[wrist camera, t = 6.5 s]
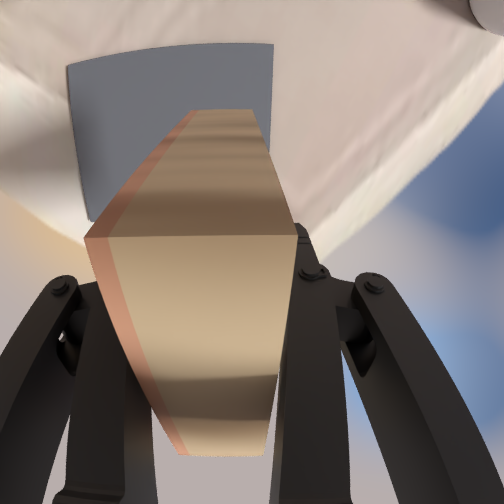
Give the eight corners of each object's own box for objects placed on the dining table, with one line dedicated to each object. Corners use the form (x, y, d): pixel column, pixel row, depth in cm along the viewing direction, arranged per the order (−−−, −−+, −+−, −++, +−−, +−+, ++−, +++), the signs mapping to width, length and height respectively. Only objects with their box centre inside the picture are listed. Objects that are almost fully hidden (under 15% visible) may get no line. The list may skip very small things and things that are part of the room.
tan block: (191, 110, 14) (83, 237, 4) (252, 109, 14) (298, 235, 4) (199, 259, 19) (178, 454, 9) (248, 259, 19) (263, 455, 9)
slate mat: (70, 64, 22) (67, 65, 22) (273, 44, 23) (273, 44, 23) (92, 219, 32) (90, 221, 32) (265, 215, 33) (266, 218, 33)
